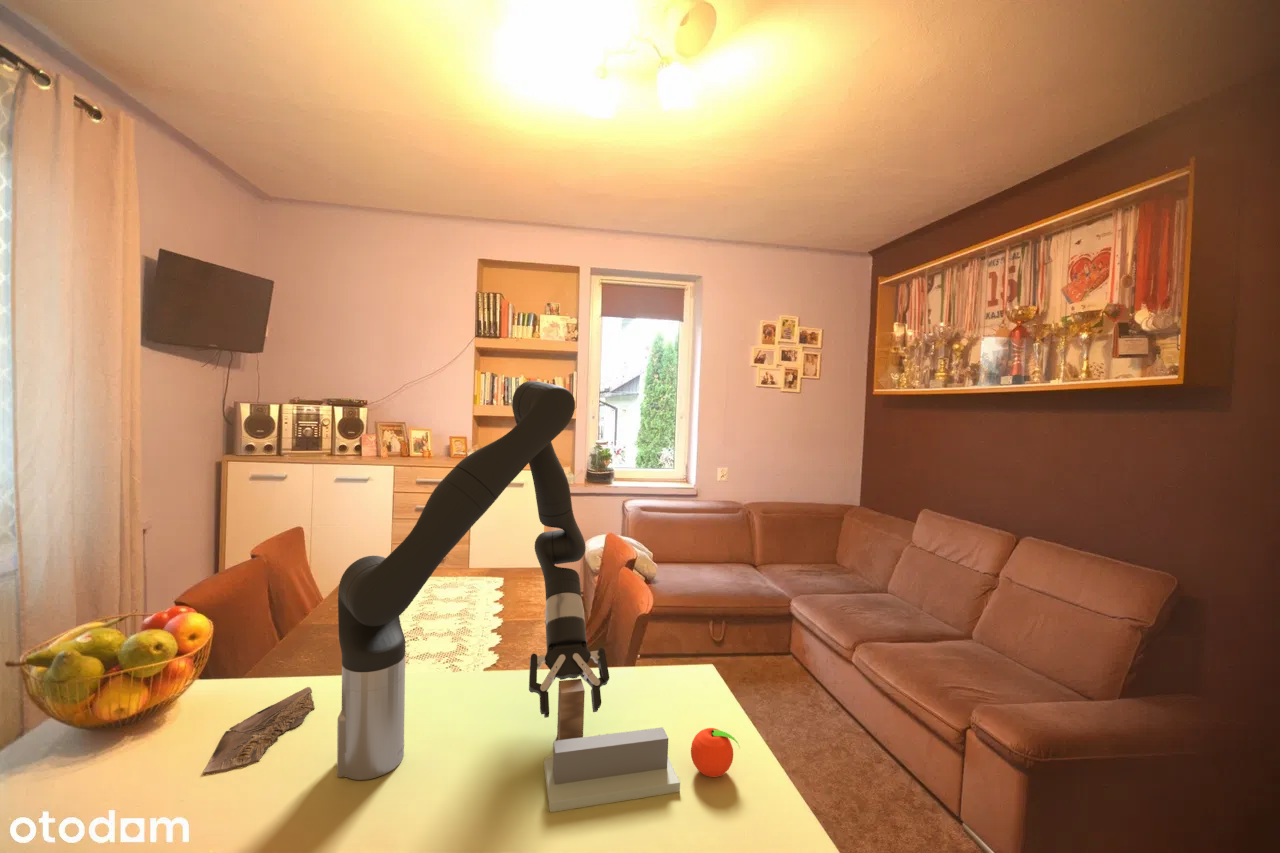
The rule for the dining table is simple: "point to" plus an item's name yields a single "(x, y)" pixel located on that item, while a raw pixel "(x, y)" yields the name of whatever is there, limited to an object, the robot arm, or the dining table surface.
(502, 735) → the dining table surface
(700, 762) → the clementine
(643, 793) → the ridge stand
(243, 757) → the wooden fragment
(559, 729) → the walnut post
